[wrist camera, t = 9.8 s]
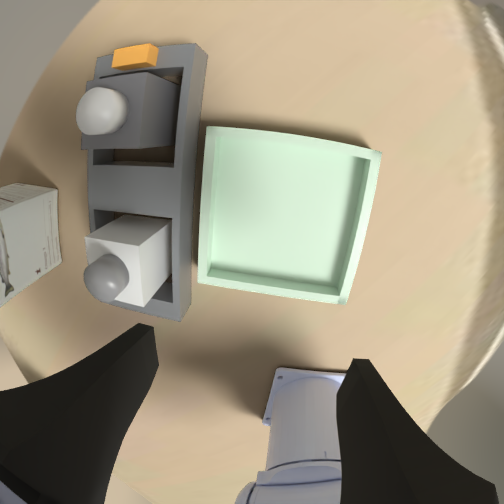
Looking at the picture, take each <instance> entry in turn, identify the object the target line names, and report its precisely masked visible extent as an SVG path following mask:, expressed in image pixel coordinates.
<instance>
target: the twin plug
mask: <svg viewBox="0 0 504 504" xmlns="http://www.w3.org/2000/svg"><path fill="white" fill-rule="evenodd" d="M85 246H86V254H87V261H88V266H87V267H86V269H85V271H84V282H85V285H86V287H87V289H88V291H89V292H90V293H91V294H92V296H94V297H95V298H96V299H98V300H99V301H102V302H111V301H113V300H118V301H121V302H125V303H129V304H133V305H137V306H141V307H144V306H145V305H146V304H147V303H148V301H149V300H150V299H151V298H152V296H153V295H154V294H155V293H156V291H157V290H158V289H159V288H160V286H161V285H162V284H163V283H164V282H165V280H166V279H167V278H168V277H169V275H170V274H171V273H172V220H165V219H158V218H149V217H141V216H133V215H123V216H121V217H119V218H117V219H115V220H114V221H112V222H110V223H108V224H106V225H104V226H103V227H101V228H99V229H97V230H96V231H94V232H92V233H90V234H89V235H87V236H85Z"/></svg>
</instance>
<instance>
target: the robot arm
mask: <svg viewBox="0 0 504 504" xmlns="http://www.w3.org/2000/svg"><path fill="white" fill-rule="evenodd" d="M158 366H159V363H158V357H157V350H156V343H155V335H154V327H152V326H148V325H144V324H141V323H138V324H137V325H135V326H133V327H132V328H130V329H129V330H127V331H126V332H125V333H123V334H122V335H120V336H119V337H117V338H116V339H114V340H113V341H111V342H110V343H108V344H107V345H105V346H104V347H102V348H101V349H99V350H98V351H96V352H94V353H93V354H91V355H89V356H88V357H86V358H84V359H83V360H81V361H79V362H77V363H76V364H74V365H72V366H70V367H68V368H66V369H64V370H62V371H60V372H58V373H56V374H54V375H52V376H49V377H47V378H44V379H41V380H39V381H36V382H33V383H30V384H27V385H24V386H21V387H17V388H13V389H9V390H4V391H0V504H104V501H105V496H106V492H107V487H108V484H109V480H110V476H111V473H112V470H113V467H114V464H115V461H116V458H117V455H118V452H119V449H120V447H121V444H122V441H123V439H124V436H125V434H126V432H127V430H128V428H129V426H130V424H131V422H132V421H133V419H134V417H135V415H136V413H137V411H138V409H139V408H140V406H141V404H142V402H143V400H144V398H145V397H146V395H147V393H148V391H149V389H150V387H151V384H152V382H153V379H154V377H155V374H156V371H157V369H158ZM280 376H281V377H280ZM262 424H263V425H266V426H270V435H269V444H268V453H267V461H266V469H265V471H259V472H258V474H257V481H256V482H250V483H248V484H247V485H246V486H245V487H244V488H243V489H242V490H241V491H240V493H239V494H238V496H237V498H236V501H235V504H499V501H498V496H497V492H496V488H495V485H494V484H492V483H491V482H489V481H487V480H485V479H483V478H481V477H479V476H477V475H475V474H473V473H472V472H471V471H469V470H468V469H466V468H465V467H463V466H461V465H460V464H459V463H457V462H456V461H455V460H454V459H452V458H451V457H450V456H449V455H447V454H446V453H445V452H444V451H443V450H442V449H440V448H439V447H438V446H437V445H436V444H435V443H434V442H433V441H432V440H431V439H430V438H429V437H428V436H427V435H426V434H425V433H424V432H423V431H422V430H421V428H420V427H419V426H418V425H417V424H416V423H415V421H414V420H413V419H412V418H411V417H410V415H409V414H408V413H407V412H406V410H405V409H404V408H403V407H402V405H401V404H400V403H399V401H398V400H397V399H396V397H395V396H394V394H393V393H392V392H391V390H390V389H389V387H388V386H387V385H386V383H385V382H384V380H383V379H382V377H381V376H380V375H379V373H378V372H377V370H376V369H375V367H374V366H373V365H372V363H371V362H370V360H369V359H354V358H353V360H352V363H351V365H350V367H349V369H348V371H347V373H331V372H319V371H309V370H299V369H291V368H282V367H280V368H278V369H276V372H275V376H274V379H273V383H272V387H271V391H270V395H269V399H268V402H267V406H266V410H265V413H264V417H263V421H262Z"/></svg>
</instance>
